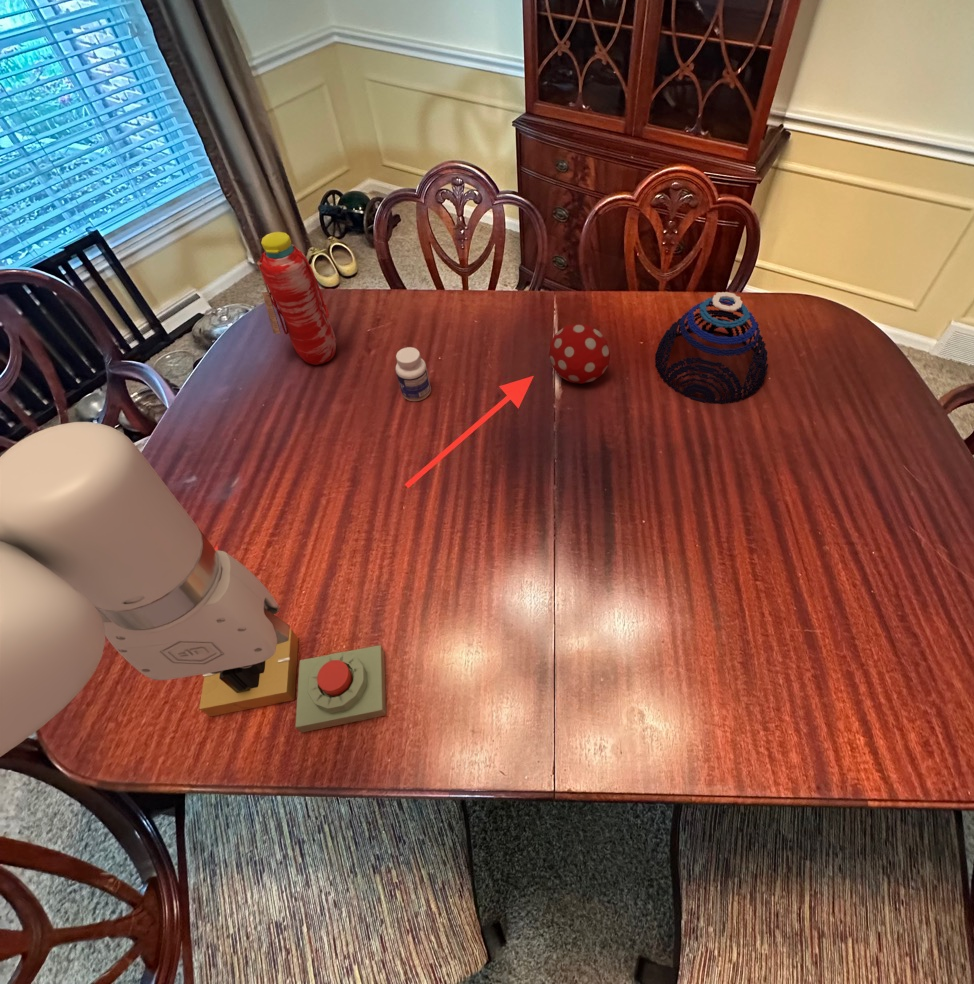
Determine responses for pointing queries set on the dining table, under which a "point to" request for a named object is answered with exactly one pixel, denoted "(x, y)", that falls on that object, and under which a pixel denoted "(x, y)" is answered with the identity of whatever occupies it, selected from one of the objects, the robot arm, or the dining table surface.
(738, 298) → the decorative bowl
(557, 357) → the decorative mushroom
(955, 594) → the dining table surface
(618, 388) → the dining table surface
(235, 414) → the dining table surface
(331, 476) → the dining table surface
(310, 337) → the water bottle
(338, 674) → the release button
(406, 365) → the pill bottle
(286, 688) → the plate
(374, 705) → the button block
